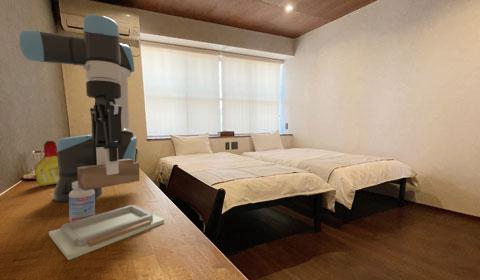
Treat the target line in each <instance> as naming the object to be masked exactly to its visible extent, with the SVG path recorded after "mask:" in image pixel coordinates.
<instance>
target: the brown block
mask: <svg viewBox="0 0 480 280" xmlns="http://www.w3.org/2000/svg"><path fill="white" fill-rule="evenodd" d="M118 166H119V173H118V174H112V175H106V164H103V165H94V166H84V167H77V170H78V188H81V189H83V190H85V191H86V190H92V189H97V188H102V189H103V188H107V187H113V186H119V185H123V184H130V183H135V182H140V162H135V161H134V159H121V160H118Z"/></svg>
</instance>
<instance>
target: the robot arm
mask: <svg viewBox="0 0 480 280" xmlns="http://www.w3.org/2000/svg"><path fill="white" fill-rule="evenodd" d="M82 31H83V37H82V36H73V35H65V34H61V33H55V32H54V33H53V32H46V31H39V30H30V29H24V30H21V32H20V33H19V37H18V42H19V48H20V51H21V53H22V55H23V57H25V59H27V60H28V61H33V62H39V63H50V64H51V63H52V64H63V65H73V66H80V67H82V69H83V70H85V78H86V80H88V81H87V82H85V88H86V91H85V92H86V96H87V97H88V98H93V99H94V105H93V107H90V109H89V112H90V117H91V134H84V135H76V136H75V135H74V136H68V137H61V138H60V139H58V141H57V142H56V146H57V155H58V170H59V180H58V183H57V184H56V187H55V189H54V192H53V200H54V201H55V202H63V203H65V202H67V203H69V193H70V192H71V191H72V190H73V188H72V183H73V182H75V181H78V170H77V167H84V166H94V165H103V164H106V175H112V174H118V173H119V166H118V160H121V159H134V162H135V159H136V152H137V143H138V137H137V136H134V132H133V131H132V130H131V129H130V122H129V121H130V117H129V92H128V91H129V87H128V79H129V78H130V77H131V76H132V73H134V72H135V63H134V57H133V51H132V48H131V46H130V45H128V44H125V43H124V44H123V43H120V34H119V32H120V31H119V25H118V23H117V22H116V21H115V20H113V19H112V18H110V17H107V16H104V15H100V14H88V15H86V16H84V18H83V28H82ZM94 191H95V197H98V196H99V195H101V194H102V193H103V188H97V189H94Z"/></svg>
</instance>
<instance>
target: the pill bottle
mask: <svg viewBox="0 0 480 280" xmlns="http://www.w3.org/2000/svg"><path fill="white" fill-rule="evenodd" d="M72 188H73V190H72V191H71V192H70V193H69V202H68V210H69V211H68V214H69V215H68V217H69V218H68V219H69V220H68V221H69V223H70V222H73V221H77V220H80V219H84V218H87V217H91V216H94V215H96V196H95V191H94V189H92V190H86V191H85V190H83V189H81V188H78V181H75V182H73V183H72Z"/></svg>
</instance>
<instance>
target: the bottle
mask: <svg viewBox="0 0 480 280" xmlns="http://www.w3.org/2000/svg"><path fill="white" fill-rule="evenodd" d="M43 150H44V153H43V158H41V159H40V160H39V161H38V162H37V164H36V165H35V168H34V172H35V173H34V174H35V178H36V179H35V180H36V182H37V185H39V186H40V187H42V186H49V185H55V184H56V185H57V183H58V180H59V170H58V155H57V142H56V141H53V140H47V141H45V143H44V144H43Z"/></svg>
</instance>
